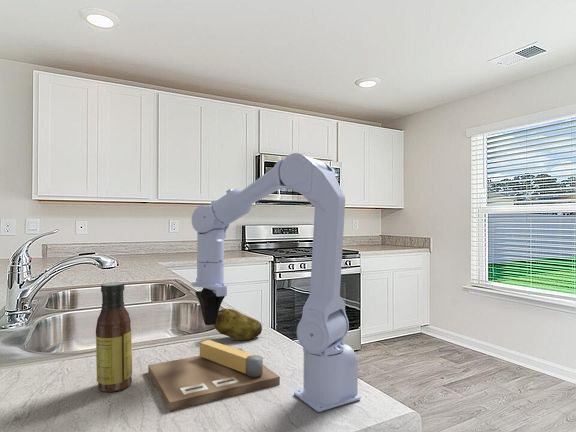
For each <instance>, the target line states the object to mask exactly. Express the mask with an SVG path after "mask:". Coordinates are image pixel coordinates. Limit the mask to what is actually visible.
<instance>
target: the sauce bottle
mask: <svg viewBox="0 0 576 432" xmlns="http://www.w3.org/2000/svg"><path fill="white" fill-rule="evenodd" d="M124 290H125V283H124V282H123V281H108V282H104V283H102V284H101V285H100V292H101V296H102V297H101V299H102V303H101V309H100V313H99V316H98V317H97V321H96V326H95V348H96V349H95V350H96V353H95V354H96V359H95V360H96V361H95V362H96V365H95V366H96V383H97V387H98V389H99V390H100V391H102V392H106V393H112V392H116V391H123V390H125V389H126V388H128V387H129V386H130V385H131V384H132V383H133V378H132V376H133V350H132V349H133V347H132V346H133V344H132V342H133V341H132V328H131V316H130V313H129V311H127V308H126V307H125V302H124Z"/></svg>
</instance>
